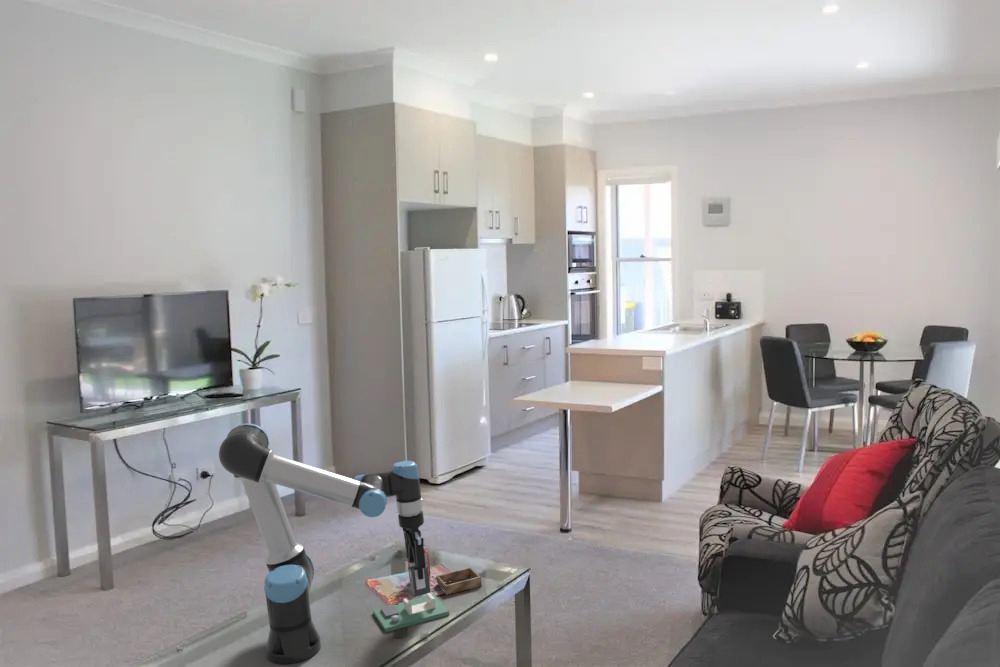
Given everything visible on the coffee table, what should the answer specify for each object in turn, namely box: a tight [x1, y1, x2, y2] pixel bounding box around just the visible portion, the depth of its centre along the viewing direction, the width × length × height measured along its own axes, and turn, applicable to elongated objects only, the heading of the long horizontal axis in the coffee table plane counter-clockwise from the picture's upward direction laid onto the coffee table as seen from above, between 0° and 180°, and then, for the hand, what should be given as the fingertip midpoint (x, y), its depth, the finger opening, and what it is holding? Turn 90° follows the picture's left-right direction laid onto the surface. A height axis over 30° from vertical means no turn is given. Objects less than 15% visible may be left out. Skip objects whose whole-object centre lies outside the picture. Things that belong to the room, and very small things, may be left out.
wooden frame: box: [435, 566, 482, 596], centre depth 274 cm, size 12×9×3 cm
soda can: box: [407, 543, 431, 581], centre depth 279 cm, size 7×7×12 cm
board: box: [372, 592, 450, 633], centre depth 256 cm, size 20×14×4 cm
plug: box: [407, 566, 431, 598], centre depth 257 cm, size 5×4×8 cm
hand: (418, 585), depth 257 cm, fingers closed on plug, 4 cm apart
